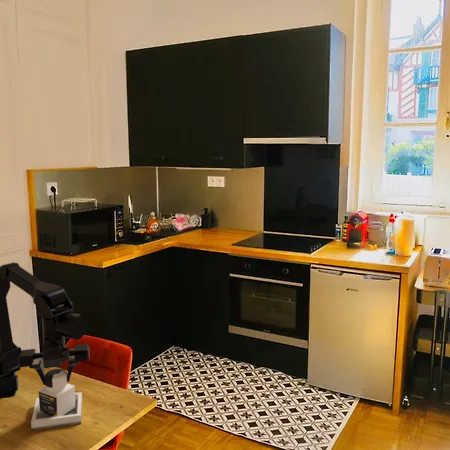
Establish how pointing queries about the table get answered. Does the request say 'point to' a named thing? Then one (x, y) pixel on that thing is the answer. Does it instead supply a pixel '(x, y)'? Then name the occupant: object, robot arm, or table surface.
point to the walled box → (68, 419)
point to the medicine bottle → (56, 394)
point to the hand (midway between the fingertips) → (56, 382)
